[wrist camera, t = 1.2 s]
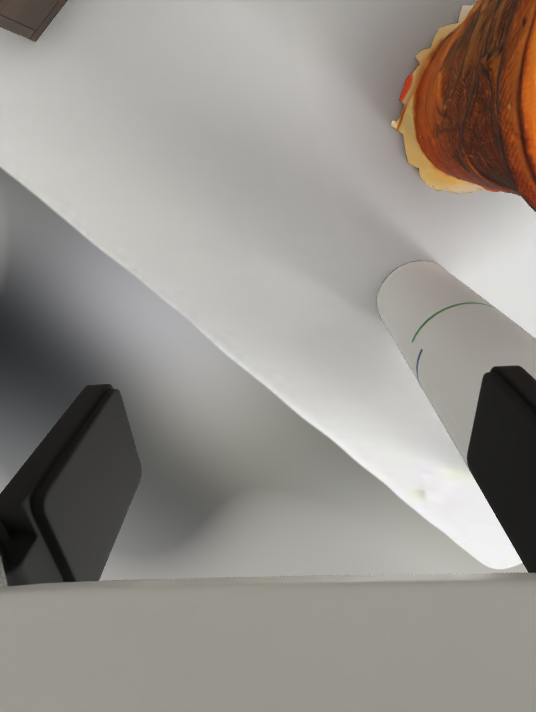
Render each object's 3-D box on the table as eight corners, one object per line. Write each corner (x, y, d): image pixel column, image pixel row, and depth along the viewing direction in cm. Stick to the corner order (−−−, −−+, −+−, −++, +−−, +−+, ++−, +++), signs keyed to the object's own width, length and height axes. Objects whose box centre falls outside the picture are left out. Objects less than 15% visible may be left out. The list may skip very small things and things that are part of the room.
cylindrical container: (372, 332, 40) (486, 565, 18) (382, 259, 37) (540, 437, 15) (445, 334, 40) (650, 571, 18) (462, 261, 37) (741, 443, 15)
